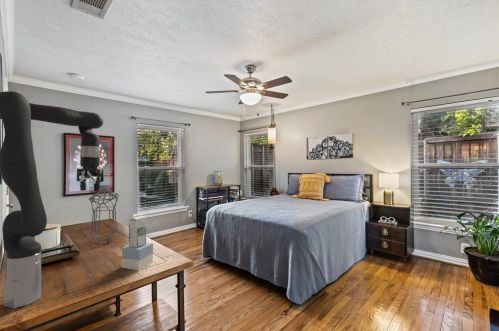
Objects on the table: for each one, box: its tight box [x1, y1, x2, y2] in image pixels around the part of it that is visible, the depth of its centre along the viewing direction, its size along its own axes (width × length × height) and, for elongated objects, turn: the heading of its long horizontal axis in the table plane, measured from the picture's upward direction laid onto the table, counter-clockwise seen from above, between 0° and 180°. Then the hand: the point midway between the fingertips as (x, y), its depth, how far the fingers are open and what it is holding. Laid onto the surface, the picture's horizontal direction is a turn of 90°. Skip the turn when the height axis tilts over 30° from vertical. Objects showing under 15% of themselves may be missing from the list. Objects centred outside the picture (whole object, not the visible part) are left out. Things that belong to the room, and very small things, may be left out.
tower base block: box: [121, 252, 154, 271], centre depth 120 cm, size 10×10×5 cm
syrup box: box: [128, 214, 147, 248], centre depth 120 cm, size 6×6×14 cm
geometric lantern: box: [88, 187, 120, 245], centre depth 154 cm, size 16×16×35 cm
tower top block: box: [121, 242, 154, 260], centre depth 120 cm, size 10×10×5 cm
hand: (89, 191), depth 112 cm, fingers open, 8 cm apart
